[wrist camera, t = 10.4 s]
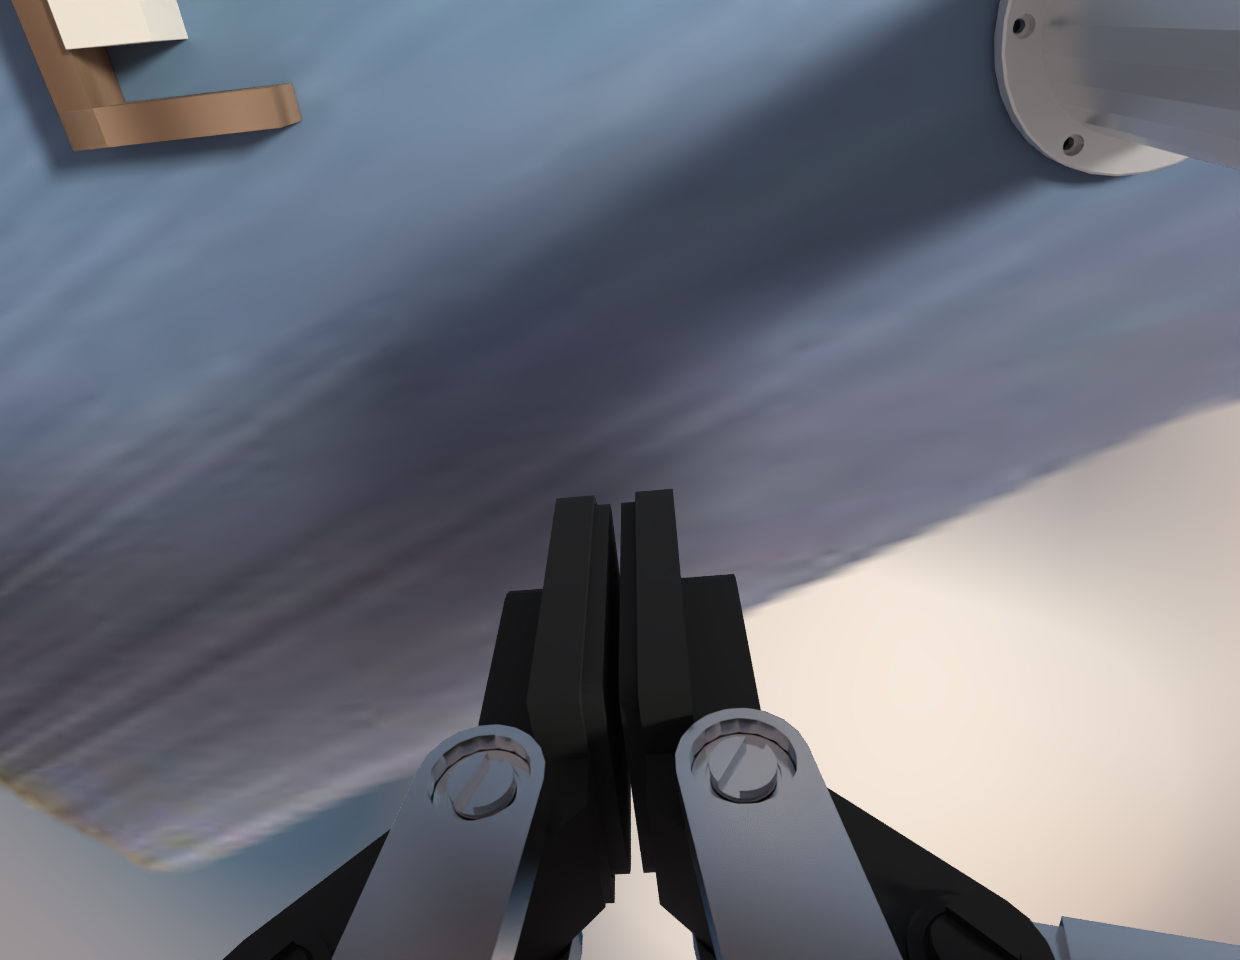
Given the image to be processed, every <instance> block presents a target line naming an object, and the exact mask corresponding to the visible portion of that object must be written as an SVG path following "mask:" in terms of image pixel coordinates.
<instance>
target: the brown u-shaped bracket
mask: <svg viewBox="0 0 1240 960" xmlns="http://www.w3.org/2000/svg"><path fill="white" fill-rule="evenodd" d="M11 1H12V3H13V6H14V8H15V10H16V13H17V15H18V18H19V20H20V22H21V25H22V27H23V30H24V32H25V35H26V37H27V39H28V42H29V44H30V47H31V49H32V51H33V54H34V56H35V59H36V61H37V64H38V66H39V68H40V71H41V73H42V76H43V78H44V80H45V83H46V85H47V88H48V90H49V93H50V95H51V97H52V100H53V102H54V105H55V107H56V109H57V112H58V114H59V117H60V119H61V121H62V124H63V126H64V129H65V131H66V134H67V136H68V138H69V141H70V143H71V146H72V148H73V150H74V151H81V150H90V149H98V148H107V147H116V146H125V145H133V144H142V143H151V142H160V141H168V140H177V139H186V138H195V137H203V136H212V135H221V134H230V133H239V132H247V131H256V130H265V129H274V128H282V127H285V126H288V125H291V124H294V123H297V122H300V121H302V118H301V114H300V111H299V107H298V103H297V100H296V96H295V93H294V89H293V85H292V83H288V84H279V85H271V86H262V87H254V88H245V89H236V90H228V91H219V92H211V93H202V94H194V95H185V96H177V97H168V98H160V99H151V100H143V101H134V102H126V103H125V100H124V97H123V95H122V92H121V89H120V87H119V84H118V81H117V78H116V76H115V73H114V70H113V68H112V65H111V62H110V60H109V57H108V54H107V52H106V49H105V47H93V48H78V49H66V48H65V46H64V43H63V40H62V38H61V35H60V32H59V30H58V27H57V24H56V22H55V19H54V16H53V14H52V11H51V8H50V6H49V3H48V0H11Z"/></svg>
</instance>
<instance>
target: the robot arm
mask: <svg viewBox="0 0 1240 960" xmlns="http://www.w3.org/2000/svg"><path fill="white" fill-rule="evenodd" d="M1017 19H1018V20H1019V21H1020V24H1021V26H1020V29H1019V30H1018V31H1017V32H1016V33H1014V32H1013V25H1014V22H1015V21H1016V20H1017ZM994 52H995V71H996V76H997V81H998V86H999V91H1000V95H1001V98H1002V100H1003V103H1004V105H1005V107H1006V109H1007V112H1008V114H1009V116H1010V118H1011V121H1012V122H1013V123H1014V125H1015V126H1016V127H1017V129H1018V130H1019V131H1020V133H1021V134H1022V135H1023V137H1024V138H1025V139H1026V141H1027V142H1028V143H1030V144H1031V145H1032V146H1033V147H1035V148H1036V149H1037V150H1038V151H1040V152H1041V153H1042V154H1043V155H1045V156H1046V157H1048V158H1050V159H1052V160H1054V161H1056V162H1058V163H1060V164H1063V165H1065V166H1067V167H1069V168H1073V169H1076V170H1080V171H1083V172H1086V173H1089V174H1097V175H1108V176H1125V175H1135V174H1144V173H1148V172H1152V171H1155V170H1159V169H1162V168H1166V167H1169V166H1173V165H1175V164H1177V163H1180V162H1182V161H1184V160H1186V159H1188V158H1190V157H1191V158H1194V159H1198V160H1202V161H1206V162H1210V163H1214V164H1217V165H1221V166H1225V167H1229V168H1233V169H1237V170H1240V0H1000V3H999V9H998V16H997V22H996V28H995V35H994ZM1067 138H1069V143H1068V145H1067V146H1066V147H1065V148H1063V144H1064V142H1065V140H1066V139H1067ZM631 788H632V796H633V803H634V810H635V817H636V824H637V831H638V838H639V845H640V852H641V858H642V865H643V871H644V873H649V872H656V878H657V885H658V892H659V900H660V905H661V906H663V907H664V908H665V909H666V910H667V911H668V912H669V913H671V914H672V915H673V916H674V917H675V918H676V919H677V920H678V921H680V922H681V923H682V924H683V925H684V926H685V927H687V928H688V929H689V930H690V931H691V932H692V934H693V944H694V950H695V955H696V959H697V960H1240V946H1239V945H1232V944H1227V943H1221V942H1215V941H1209V940H1203V939H1197V938H1190V937H1184V936H1178V935H1173V934H1166V933H1160V932H1154V931H1148V930H1142V929H1136V928H1130V927H1124V926H1118V925H1111V924H1106V923H1100V922H1094V921H1088V920H1082V919H1076V918H1070V917H1064V916H1062V917H1061V921H1060V924H1059V926H1053V925H1047V924H1041V923H1035V922H1032V921H1030V919H1029V918H1028V917H1027V916H1025V915H1024V914H1023V913H1021V912H1020V911H1019V910H1018V909H1016V908H1015V907H1014V906H1013V905H1011V904H1010V903H1009V902H1008V901H1006V900H1005V899H1003V898H1002V897H1000V896H999V895H997V894H995V893H994V892H992V891H991V890H989V889H987V888H986V887H984V886H983V885H981V884H979V883H978V882H976V881H975V880H973V879H972V878H970V877H968V876H967V875H965V874H964V873H962V872H960V871H959V870H957V869H956V868H954V867H952V866H951V865H949V864H948V863H946V862H945V861H943V860H941V859H940V858H938V857H936V856H935V855H933V854H932V853H930V852H929V851H927V850H925V849H924V848H922V847H921V846H919V845H917V844H916V843H914V842H913V841H911V840H910V839H908V838H906V837H905V836H903V835H902V834H900V833H898V832H897V831H895V830H894V829H892V828H891V827H889V826H887V825H886V824H884V823H883V822H881V821H879V820H878V819H876V818H875V817H873V816H871V815H870V814H868V813H867V812H865V811H863V810H862V809H860V808H859V807H857V806H855V805H854V804H852V803H851V802H849V801H848V800H846V799H844V798H843V797H841V796H840V795H838V794H837V793H835V792H833V791H832V790H830V789H828V788H827V787H826V785H825V782H824V780H823V778H822V776H821V773H820V771H819V769H818V767H817V764H816V762H815V760H814V758H813V755H812V753H811V751H810V749H809V746H808V745H807V743H806V742H805V740H804V739H803V738H802V736H801V734H800V733H799V731H798V730H796V729H795V728H794V727H792V726H791V725H790V724H789V723H788V722H786V721H785V720H784V719H782V718H779V717H777V716H775V715H773V714H770V713H768V712H766V711H761V709H760V704H759V699H758V694H757V688H756V683H755V678H754V672H753V667H752V661H751V656H750V651H749V646H748V641H747V635H746V630H745V624H744V619H743V614H742V608H741V603H740V598H739V593H738V587H737V582H736V578H735V575H734V574H728V575H715V576H702V577H689V578H681V575H680V564H679V553H678V542H677V531H676V520H675V509H674V498H673V489H665V490H653V491H642V492H636V493H635V502H629V503H622V504H621V556H620V573H619V566H618V558H617V550H616V542H615V534H614V527H613V519H612V512H611V506H610V504H605V505H597V502H596V498H595V496H582V497H570V498H558V499H557V500H556V505H555V512H554V519H553V525H552V532H551V539H550V545H549V552H548V559H547V566H546V572H545V579H544V586H543V589H534V590H521V591H509V592H508V593H507V595H506V598H505V601H504V606H503V611H502V616H501V620H500V625H499V630H498V635H497V639H496V644H495V649H494V654H493V658H492V663H491V668H490V672H489V677H488V682H487V687H486V691H485V696H484V701H483V706H482V710H481V715H480V720H479V725H478V726H477V727H474V728H470V729H467V730H464V731H461V732H458V733H457V734H455V735H453V736H451V737H450V738H448V739H446V740H444V741H443V742H441V743H440V744H439V745H438V746H437V747H436V748H435V749H434V750H433V751H432V752H430V753H429V754H428V755H427V757H426V758H425V760H424V761H423V763H422V764H421V766H420V767H419V769H418V771H417V772H416V775H415V777H414V779H413V781H412V784H411V786H410V788H409V790H408V792H407V794H406V797H405V799H404V801H403V803H402V805H401V808H400V810H399V812H398V814H397V816H396V819H395V821H394V823H393V825H392V827H391V829H390V830H389V831H387V832H386V833H385V834H383V835H382V836H381V837H379V838H378V839H377V840H376V841H374V842H373V843H371V844H370V845H369V846H367V847H366V848H365V849H364V850H362V851H361V852H360V853H358V854H357V855H356V856H354V857H353V858H352V859H350V860H349V861H348V862H346V863H345V864H344V865H342V866H341V867H340V868H339V869H337V870H336V871H334V872H333V873H332V874H331V875H329V876H328V877H327V878H325V879H324V880H323V881H321V882H320V883H319V884H317V885H316V886H315V887H313V888H312V889H311V890H309V891H308V892H307V893H305V894H304V895H303V896H301V897H300V898H299V899H298V900H296V901H295V902H294V903H293V904H291V905H290V906H288V907H287V908H286V909H284V910H283V911H282V912H280V913H279V914H278V915H276V916H275V917H274V918H272V919H271V920H270V921H269V922H267V923H266V924H264V925H263V926H262V927H261V928H259V929H258V930H257V931H255V932H254V933H253V934H251V935H250V936H249V937H247V938H246V939H245V940H243V941H242V942H241V943H240V944H239V945H238V946H237V947H236V948H235V949H234V950H233V951H232V952H231V953H229V954H228V955H227V956H226V957H225V958H224V959H223V960H581V955H582V940H583V934H582V930H583V929H584V928H585V927H586V926H587V925H588V924H589V923H590V922H591V921H592V920H593V919H594V918H595V917H596V916H597V915H598V914H599V913H600V912H601V911H602V910H603V909H604V908H605V904H606V903H614V902H615V901H614V900H615V874H630V871H631Z"/></svg>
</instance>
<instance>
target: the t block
mask: <svg viewBox="0 0 1240 960" xmlns="http://www.w3.org/2000/svg"><path fill="white" fill-rule="evenodd" d="M48 3H49V6H50V8H51V11H52V14H53V16H54V19H55V22H56V24H57V27H58V30H59V32H60V35H61V38H62V40H63V43H64V46H65V48H66V49H78V48H93V47H108V46H118V45H129V44H139V43H150V42H160V41H170V40H181V39H188V37H187V34H186V30H185V27H184V24H183V21H182V17H181V14H180V11H179V8H178V4H177V1H176V0H48Z"/></svg>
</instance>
